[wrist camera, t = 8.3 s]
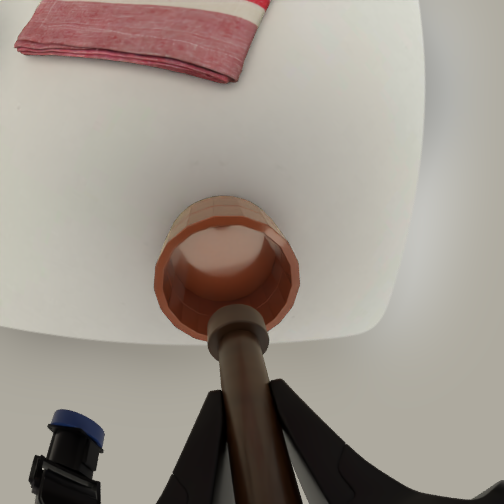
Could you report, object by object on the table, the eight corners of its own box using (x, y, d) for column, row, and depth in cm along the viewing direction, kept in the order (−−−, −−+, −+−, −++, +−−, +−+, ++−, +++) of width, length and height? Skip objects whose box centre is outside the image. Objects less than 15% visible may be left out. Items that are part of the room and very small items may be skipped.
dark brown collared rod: (213, 351, 12) (231, 528, 5) (201, 308, 11) (209, 514, 4) (266, 342, 12) (317, 512, 5) (260, 298, 11) (324, 494, 4)
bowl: (181, 308, 21) (177, 352, 17) (154, 207, 18) (136, 231, 13) (283, 290, 22) (302, 330, 17) (272, 185, 18) (294, 203, 14)
